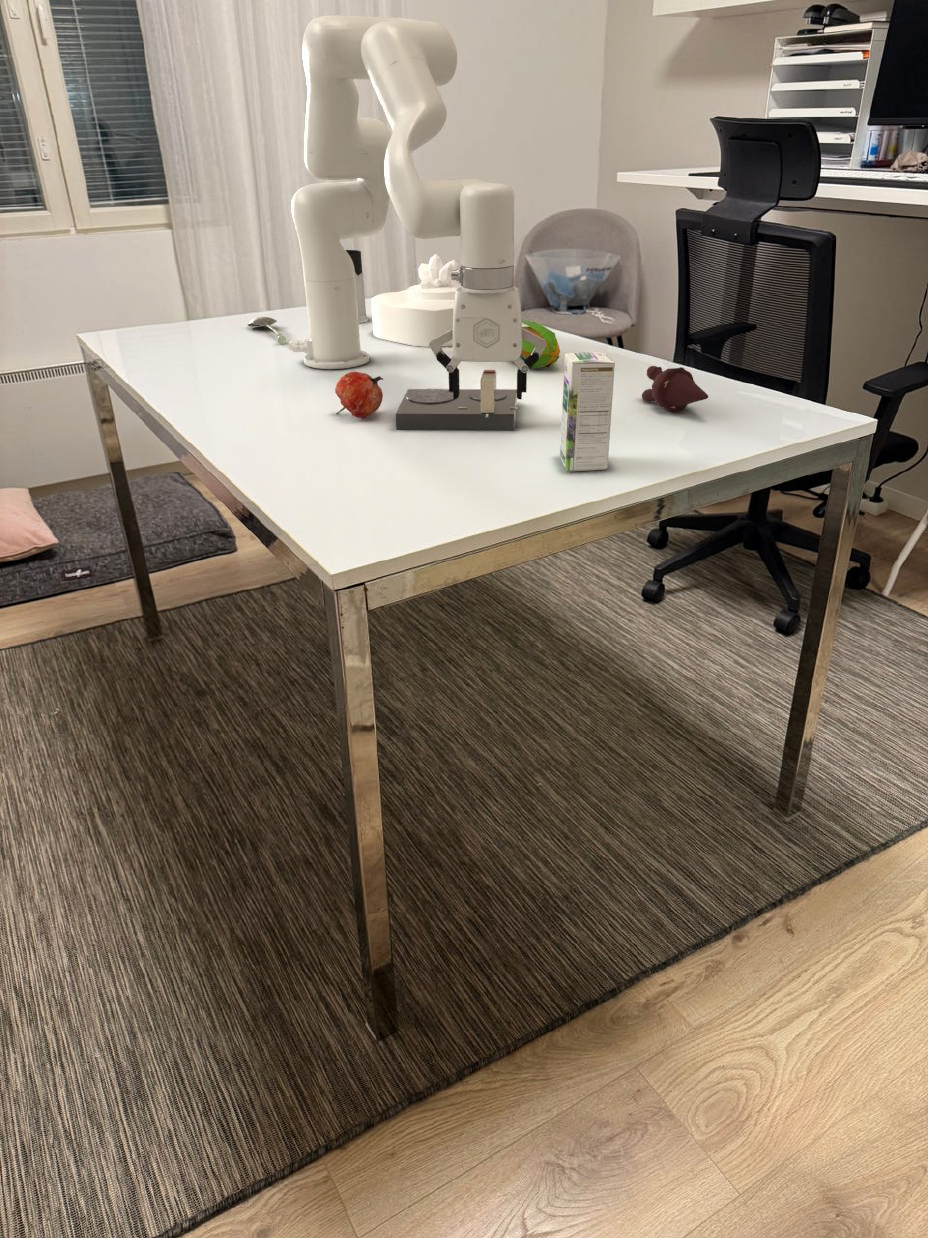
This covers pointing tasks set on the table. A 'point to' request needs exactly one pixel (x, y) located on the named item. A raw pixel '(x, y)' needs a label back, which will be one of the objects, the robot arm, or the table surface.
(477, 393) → the hotplates
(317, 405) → the table surface
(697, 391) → the icecream
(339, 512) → the table surface
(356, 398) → the pomegranate
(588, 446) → the syrup box
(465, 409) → the hob
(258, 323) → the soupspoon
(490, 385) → the hob knob
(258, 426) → the table surface
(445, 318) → the white cake
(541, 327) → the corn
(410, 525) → the table surface
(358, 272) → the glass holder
